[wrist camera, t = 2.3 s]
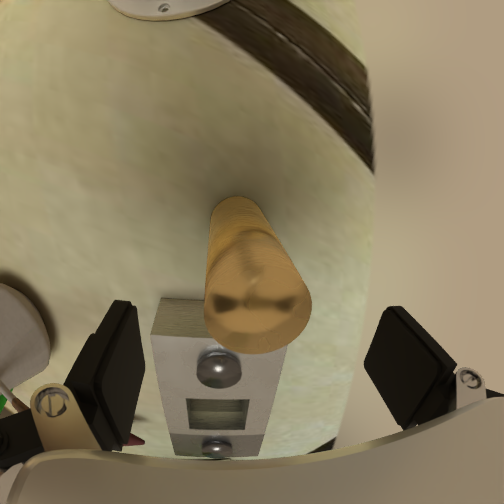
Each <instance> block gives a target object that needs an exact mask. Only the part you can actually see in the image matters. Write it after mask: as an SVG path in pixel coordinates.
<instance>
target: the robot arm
mask: <svg viewBox="0 0 504 504" xmlns="http://www.w3.org/2000/svg"><path fill="white" fill-rule="evenodd" d="M229 1H230V0H108V2H109V3H110V4H111V5H112V6H113V7H114V8H115V9H116V10H117V11H118V12H120V13H122V14H124V15H126V16H129V17H133V18H136V19H142V20H151V21H158V20H173V19H180V18H186V17H190V16H194V15H198V14H201V13H204V12H207V11H209V10H212V9H215V8H217V7H219V6H221V5H223V4H225V3H227V2H229ZM166 10H167V11H166ZM164 11H166V12H164ZM456 366H457V363H456V362H455V361H454V360H453V359H452V358H451V357H450V356H449V355H448V353H447V352H446V351H445V350H444V349H443V348H442V347H441V346H440V345H439V344H438V343H437V342H436V341H435V340H434V339H433V337H431V335H430V334H429V333H428V332H427V331H426V330H425V329H424V328H423V327H422V326H421V325H420V324H419V323H418V322H417V321H416V320H415V319H414V318H413V317H412V316H411V315H410V314H409V313H408V312H407V311H406V310H405V309H404V308H403V307H402V306H390V307H387V309H386V310H385V311H384V312H383V314H382V316H381V319H380V321H379V325H378V327H377V330H376V332H375V335H374V338H373V340H372V343H371V345H370V348H369V350H368V353H367V355H366V357H365V360H364V368H365V370H366V372H367V373H368V375H369V376H370V378H371V380H372V381H373V383H374V385H375V386H376V388H377V390H378V391H379V393H380V395H381V397H382V398H383V400H384V402H385V403H386V405H387V407H388V408H389V410H390V412H391V414H392V415H393V417H394V419H395V421H396V422H397V424H398V425H400V426H401V427H402V429H403V431H402V432H398V433H395V434H392V435H389V436H386V437H382V438H379V439H376V440H372V441H368V442H365V443H361V444H357V445H353V446H348V447H344V448H339V449H334V450H329V451H324V452H318V453H312V454H306V455H298V456H291V457H282V458H272V459H259V460H236V461H210V460H184V459H170V458H160V457H151V456H143V455H134V454H126V453H119V452H112V450H115V451H120V452H122V447H123V444H126V445H127V444H128V442H129V437H130V432H131V427H132V423H133V418H134V414H135V409H136V405H137V401H138V397H139V393H140V388H141V384H142V381H143V377H144V373H145V360H144V354H143V348H142V342H141V336H140V329H139V322H138V314H137V308H136V306H132V304H131V302H130V301H122V300H115V301H114V302H113V303H112V305H111V307H110V308H109V310H108V312H107V313H106V315H105V317H104V319H103V320H102V322H101V324H100V326H99V327H98V329H97V331H96V333H95V334H94V333H93V334H91V335H90V336H89V338H88V339H87V341H86V343H85V345H84V346H83V348H82V350H81V352H80V354H79V355H78V357H77V359H76V361H75V363H74V365H73V367H72V369H71V371H70V373H69V374H68V376H67V378H66V380H65V382H64V384H63V385H61V384H57V383H50V384H45V385H43V386H41V387H39V388H38V389H37V390H36V391H35V392H34V393H33V395H32V396H31V400H30V408H29V409H27V410H24V411H21V412H19V413H16V414H13V415H11V416H8V417H5V418H2V419H0V504H504V394H501V393H498V392H495V391H492V390H489V389H486V388H485V382H484V379H483V378H482V376H481V375H480V374H479V373H478V372H476V371H475V370H473V369H471V368H466V367H464V368H460V369H458V371H457V372H456V374H454V373H453V371H454V369H455V368H456ZM417 424H418V426H416V425H417Z"/></svg>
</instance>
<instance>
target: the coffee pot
mask: <svg viewBox="0 0 504 504" xmlns="http://www.w3.org/2000/svg"><path fill="white" fill-rule="evenodd" d="M49 359H50V341H49V337H48V334H47V331H46V328H45V325H44V322H43V319H42V317H41V315H40V313H39V311H38V310H37V309H36V307H35V306H34V304H33V303H32V302H31V301H30V300H29V299H28V298H27V297H26V296H25V295H24V294H22V293H21V292H20V291H18V290H16V289H14V288H11V287H9V286H7V285H5V284H2V283H0V395H2V394H3V395H4V396H5V397H6V398H7V399H8V400H9V401H10V402H11V404H12V405H13V407H14V408H15V409H16V410H17V412H18V413H19V412H21V411H24V410H27V409H29V407H27V406H26V405H25V404H24V403H23V402H21V401H20V400H19V399H18V398H16V397H15V396H14V394H13V393H12V392H11V391H10V390H11V389H12V388H14V387H16V386H18V385H19V384H21V383H23V382H25V381H26V380H28V379H30V378H32V377H33V376H35V375H37V374H38V373H40V372H42V371H43V370H44V369H45V368H46V367H47V366H48V364H49Z"/></svg>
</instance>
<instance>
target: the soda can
mask: <svg viewBox="0 0 504 504" xmlns="http://www.w3.org/2000/svg"><path fill="white" fill-rule="evenodd" d="M12 390H13V388H12V389H11V390H10V391H11V392H12ZM7 400H8V399H7V398H6V397H5V396H4V395H3V394H2V395H0V413H1V411H2V409H3V407H4V405H5V403H6V401H7Z"/></svg>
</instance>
